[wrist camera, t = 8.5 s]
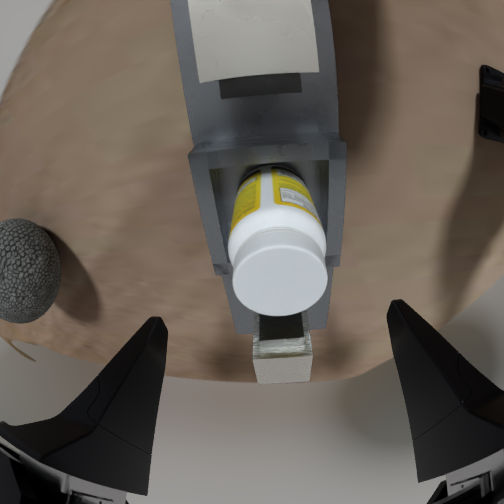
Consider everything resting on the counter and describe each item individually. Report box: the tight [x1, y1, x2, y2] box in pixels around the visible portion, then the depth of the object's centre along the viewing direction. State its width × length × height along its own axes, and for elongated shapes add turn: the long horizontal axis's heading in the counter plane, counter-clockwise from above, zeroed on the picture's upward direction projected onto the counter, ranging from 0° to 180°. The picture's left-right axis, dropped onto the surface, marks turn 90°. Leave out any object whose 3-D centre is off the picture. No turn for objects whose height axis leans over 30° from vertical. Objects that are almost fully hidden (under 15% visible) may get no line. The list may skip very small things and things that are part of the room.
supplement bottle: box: [228, 165, 328, 316], centre depth 14 cm, size 5×5×8 cm
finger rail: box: [171, 0, 347, 384], centre depth 16 cm, size 9×29×8 cm, turn 6°
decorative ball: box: [0, 219, 61, 323], centre depth 18 cm, size 10×10×10 cm
